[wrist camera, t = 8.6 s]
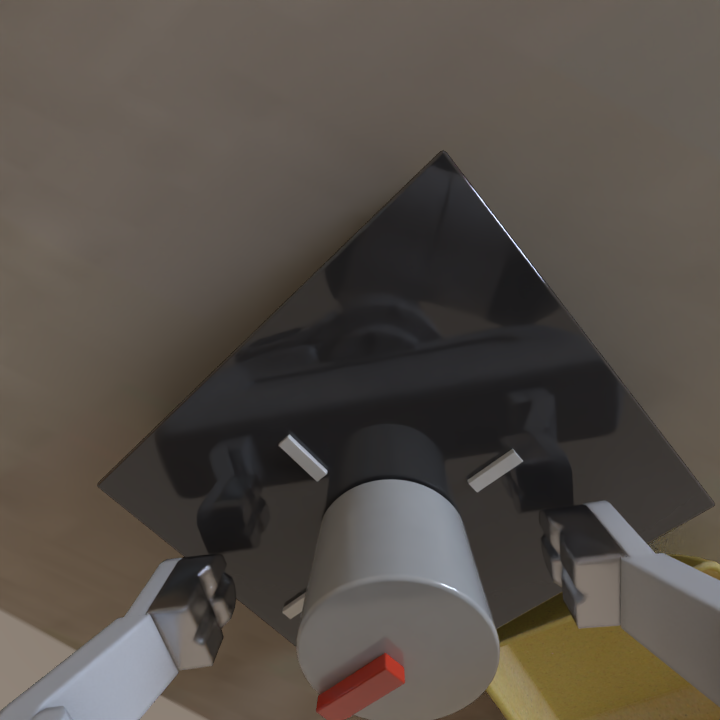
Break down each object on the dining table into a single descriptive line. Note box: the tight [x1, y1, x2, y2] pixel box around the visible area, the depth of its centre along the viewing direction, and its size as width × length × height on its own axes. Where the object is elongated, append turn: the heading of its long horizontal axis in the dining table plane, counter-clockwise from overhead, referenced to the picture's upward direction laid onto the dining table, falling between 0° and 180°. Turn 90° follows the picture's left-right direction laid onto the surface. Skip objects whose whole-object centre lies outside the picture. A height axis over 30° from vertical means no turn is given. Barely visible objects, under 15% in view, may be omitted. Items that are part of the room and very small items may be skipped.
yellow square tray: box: [485, 554, 720, 720], centre depth 14 cm, size 9×9×2 cm
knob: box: [296, 479, 500, 720], centre depth 9 cm, size 4×4×3 cm
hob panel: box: [97, 150, 715, 646], centre depth 11 cm, size 12×11×3 cm
